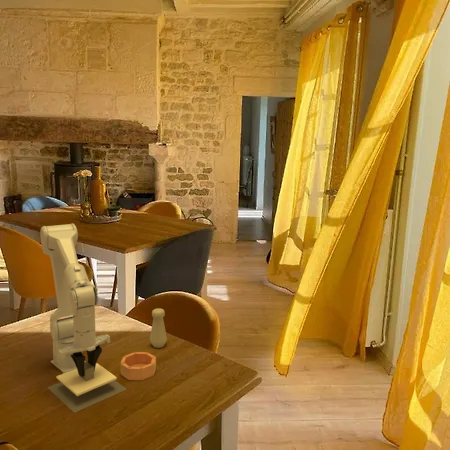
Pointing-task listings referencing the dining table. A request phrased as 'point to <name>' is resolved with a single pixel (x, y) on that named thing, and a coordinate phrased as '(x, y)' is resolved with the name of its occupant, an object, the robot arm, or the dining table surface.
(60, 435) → the dining table surface
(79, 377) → the lid
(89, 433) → the dining table surface
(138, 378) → the bowl
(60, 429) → the dining table surface
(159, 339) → the salt shaker
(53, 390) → the mat
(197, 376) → the dining table surface
